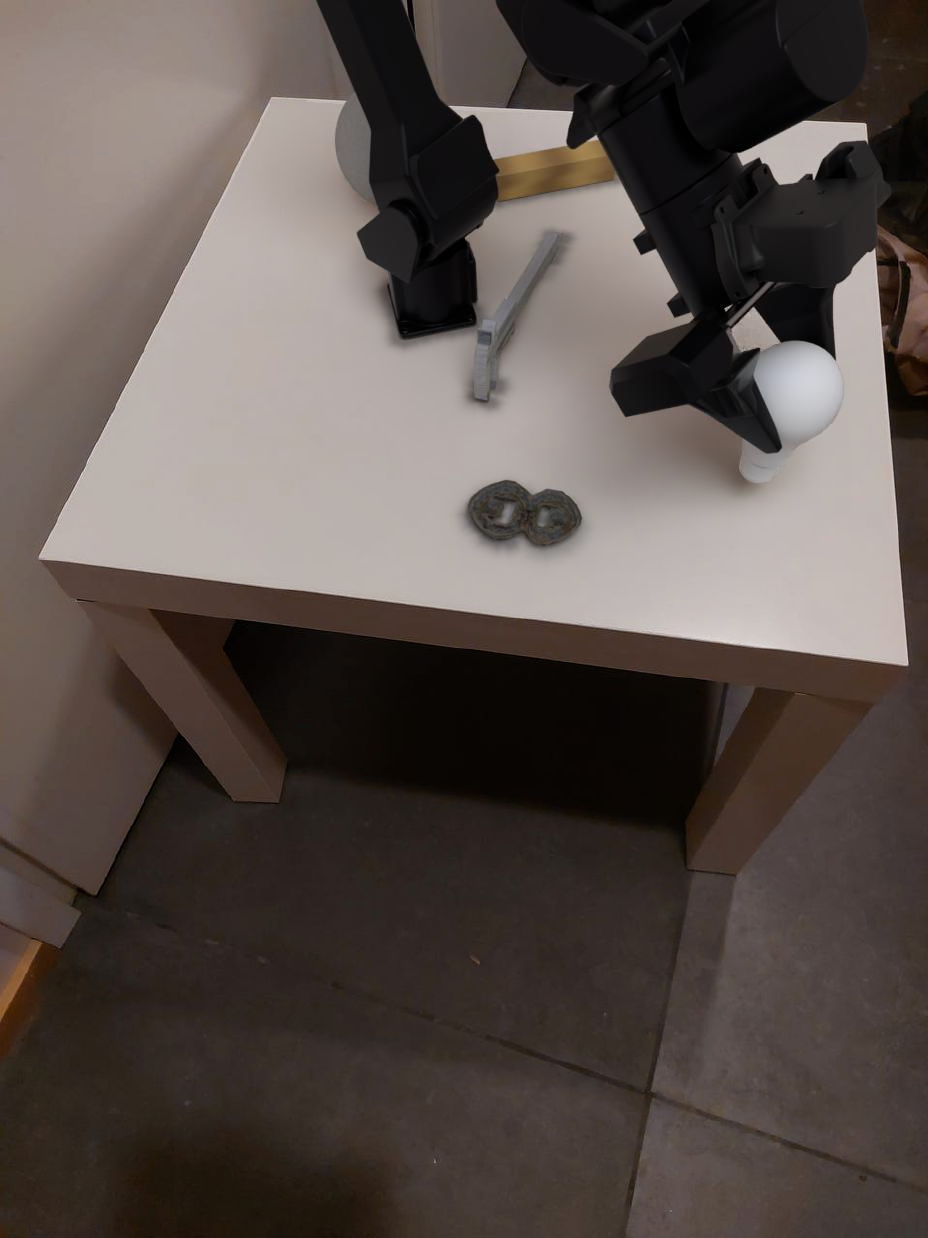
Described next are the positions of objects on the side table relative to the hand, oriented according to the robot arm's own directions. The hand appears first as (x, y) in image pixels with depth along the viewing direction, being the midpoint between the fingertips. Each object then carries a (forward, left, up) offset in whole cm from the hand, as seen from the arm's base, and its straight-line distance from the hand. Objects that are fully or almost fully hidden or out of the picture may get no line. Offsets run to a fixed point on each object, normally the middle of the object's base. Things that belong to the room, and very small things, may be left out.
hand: (802, 420), depth 52 cm
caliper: (-12, +23, -9) cm, 27 cm away
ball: (-19, +41, -9) cm, 46 cm away
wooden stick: (-5, +39, -9) cm, 40 cm away
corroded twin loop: (-17, +3, -9) cm, 19 cm away
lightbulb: (-1, +1, -7) cm, 7 cm away
